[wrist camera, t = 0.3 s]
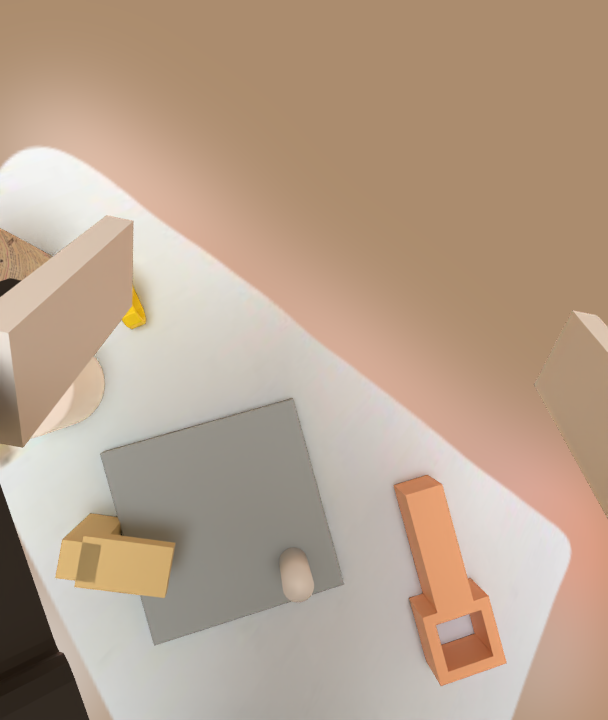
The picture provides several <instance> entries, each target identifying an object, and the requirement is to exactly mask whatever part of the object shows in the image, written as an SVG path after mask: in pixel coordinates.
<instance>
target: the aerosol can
mask: <svg viewBox="0 0 608 720" xmlns="http://www.w3.org/2000/svg"><path fill="white" fill-rule="evenodd" d="M52 257H53V256H51V255H49V254H47V253H45V252H44V251H42V250H40V249H38V248H36V247H34V246H32V245H31V244H29V243H27V242H25V241H23V240H21V239H20V238H18V237H16V236H14V235H12V234H10V233H8V232H7V231H5V230H3V229H1V228H0V281H3V280H6V279H9V278H12V279H17V280H23V279H25V278H26V277H27V276H29V275H30V274H31V273H32V272H34V271H35V270H36V269H38V268H39V267H40V266H42V265H43V264H44V263H45V262H47V261H48V260H49V259H51V258H52Z"/></svg>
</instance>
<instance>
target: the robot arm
mask: <svg viewBox="0 0 608 720" xmlns="http://www.w3.org/2000/svg"><path fill="white" fill-rule="evenodd" d="M132 276H133V221H132V220H127V219H122V218H117V217H112V216H107V215H106V216H105V217H104V218H103V219H101V220H100V221H99V222H97V223H96V224H95V225H93V226H92V227H91V228H90V229H88V230H87V231H86V232H84V233H83V234H82V235H81V236H79V237H78V238H77V239H75V240H74V241H73V242H71V243H70V244H69V245H68V246H66V247H65V248H64V249H62V250H61V251H60V252H58V253H57V254H56V255H55V256H53V257H52V258H51V259H49V260H48V261H47V262H45V263H44V264H43V265H42V266H40V267H39V268H38V269H36V270H35V271H34V272H32V273H31V274H30V275H29V276H27V277H26V278H25V279H23V280H17V279H12V278H9V279H6V280H3V281H0V444H6V445H12V446H17V447H24V446H25V444H26V443H27V442H28V441H29V439H30V438H31V437H32V435H33V434H34V433H35V431H36V430H37V429H38V428H39V426H40V425H41V424H42V422H43V421H44V420H45V419H46V417H47V416H48V415H49V413H50V412H51V411H52V409H53V408H54V407H55V406H56V404H57V403H58V402H59V400H60V399H61V398H62V396H63V395H64V394H65V393H66V391H67V390H68V389H69V387H70V386H71V385H72V383H73V382H74V381H75V380H76V378H77V377H78V376H79V374H80V373H81V372H82V370H83V369H84V368H85V367H86V365H87V364H88V363H89V361H90V360H91V359H92V357H93V356H94V355H95V354H96V352H97V351H98V350H99V348H100V347H101V346H102V344H103V343H104V342H105V341H106V339H107V338H108V337H109V335H110V334H111V333H112V331H113V330H114V329H115V328H116V326H117V325H118V324H119V322H120V321H121V320H122V318H123V317H124V316H125V315H126V313H127V312H128V311H129V309H130V308H131V307H132ZM534 386H535V388H536V390H537V392H538V393H539V395H540V397H541V399H542V401H543V402H544V404H545V406H546V408H547V410H548V412H549V413H550V415H551V417H552V419H553V421H554V422H555V424H556V426H557V428H558V430H559V431H560V433H561V435H562V437H563V439H564V441H565V442H566V444H567V446H568V448H569V449H570V451H571V453H572V455H573V457H574V459H575V460H576V462H577V464H578V466H579V468H580V469H581V471H582V473H583V475H584V477H585V479H586V480H587V482H588V484H589V486H590V488H591V489H592V491H593V493H594V495H595V496H596V498H597V500H598V502H599V504H600V505H601V507H602V509H603V511H604V513H605V515H606V517H607V518H608V327H607V326H606V325H605V324H604V323H603V322H602V320H601V319H600V318H599V317H598V316H596V315H593V314H588V313H583V312H578V311H572V312H571V314H570V316H569V318H568V320H567V322H566V324H565V326H564V327H563V329H562V331H561V333H560V335H559V337H558V339H557V341H556V343H555V345H554V347H553V349H552V351H551V352H550V354H549V356H548V358H547V360H546V362H545V364H544V366H543V368H542V370H541V372H540V374H539V376H538V378H537V379H536V381H535V383H534ZM0 720H89V718H88V715H87V712H86V709H85V707H84V703H83V701H82V698H81V695H80V692H79V689H78V687H77V684H76V681H75V678H74V676H73V673H72V671H71V668H70V666H69V663H68V661H67V659H66V657H65V655H64V653H62V652H59V650H58V648H57V646H56V644H55V641H54V638H53V635H52V632H51V630H50V627H49V624H48V621H47V618H46V615H45V612H44V609H43V606H42V604H41V601H40V598H39V595H38V592H37V589H36V586H35V584H34V581H33V578H32V575H31V572H30V569H29V566H28V563H27V560H26V557H25V554H24V551H23V549H22V546H21V543H20V540H19V537H18V534H17V531H16V528H15V525H14V523H13V520H12V517H11V514H10V511H9V508H8V505H7V502H6V499H5V497H4V494H3V491H2V488H1V485H0Z"/></svg>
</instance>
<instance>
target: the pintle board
mask: <svg viewBox="0 0 608 720" xmlns="http://www.w3.org/2000/svg"><path fill="white" fill-rule="evenodd" d="M100 455H101V459H102V462H103V466H104V470H105V473H106V477H107V480H108V484H109V487H110V491H111V494H112V498H113V501H114V505H115V508H116V512H117V515H118V517H113V516H106V515H99V514H91V513H90V514H89V515H88V516H87V517H86V518H85V519H84V520H83V521H82V522H81V523H80V524H78V525H77V526H76V527H75V528H74V529H73V530H72V531H71V532H70V533H69V534H68V535H67V536H66V537H65V538H63V539H62V543H61V549H60V555H59V560H58V566H57V572H56V577H55V578H59V579H67V580H75V586H74V587H79V588H87V589H95V590H103V591H111V592H119V593H128V594H136V595H140V597H141V600H142V604H143V607H144V611H145V614H146V618H147V621H148V625H149V629H150V632H151V636H152V639H153V643H154V645H158V644H161V643H164V642H167V641H170V640H173V639H176V638H179V637H182V636H185V635H189V634H192V633H195V632H198V631H201V630H204V629H207V628H210V627H213V626H216V625H220V624H223V623H226V622H229V621H232V620H235V619H238V618H241V617H244V616H247V615H251V614H254V613H257V612H260V611H263V610H266V609H269V608H272V607H275V606H278V605H282V604H285V603H288V602H291V601H292V602H303V601H305V600H307V599H308V598H309V597H310V596H311V595H313V594H316V593H319V592H322V591H325V590H328V589H331V588H334V587H337V586H340V585H344V582H343V578H342V575H341V571H340V567H339V564H338V560H337V557H336V553H335V549H334V546H333V542H332V538H331V535H330V531H329V527H328V524H327V520H326V517H325V513H324V509H323V506H322V502H321V498H320V495H319V491H318V487H317V484H316V480H315V477H314V473H313V469H312V466H311V462H310V458H309V455H308V451H307V447H306V444H305V440H304V437H303V433H302V429H301V426H300V422H299V418H298V415H297V411H296V407H295V404H294V400H293V399H288V400H285V401H281V402H278V403H274V404H271V405H267V406H264V407H260V408H257V409H253V410H249V411H246V412H242V413H239V414H235V415H232V416H228V417H225V418H221V419H218V420H214V421H211V422H207V423H204V424H200V425H196V426H193V427H189V428H186V429H182V430H179V431H175V432H172V433H168V434H165V435H161V436H158V437H154V438H151V439H147V440H143V441H140V442H136V443H133V444H129V445H126V446H122V447H119V448H115V449H112V450H108V451H105V452H103V453H101V454H100ZM121 530H122V533H123V536H121Z"/></svg>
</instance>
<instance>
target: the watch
mask: <svg viewBox="0 0 608 720" xmlns="http://www.w3.org/2000/svg"><path fill="white" fill-rule="evenodd" d="M122 321H123V322H124V324H125V325H126V326H127V327H128V328H130V329H134V328H136V327H139V326H141V325H143V324H145V323H146V316H145V313H144V309H143V307H142V305H141V303H140V301H139V298H138V296H137V294H136V292H135V289H134V287H133V285H132V307H131V308H130V309H129V311H128V312H127V313H126V315H125V316H124V317H123V318H122Z"/></svg>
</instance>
